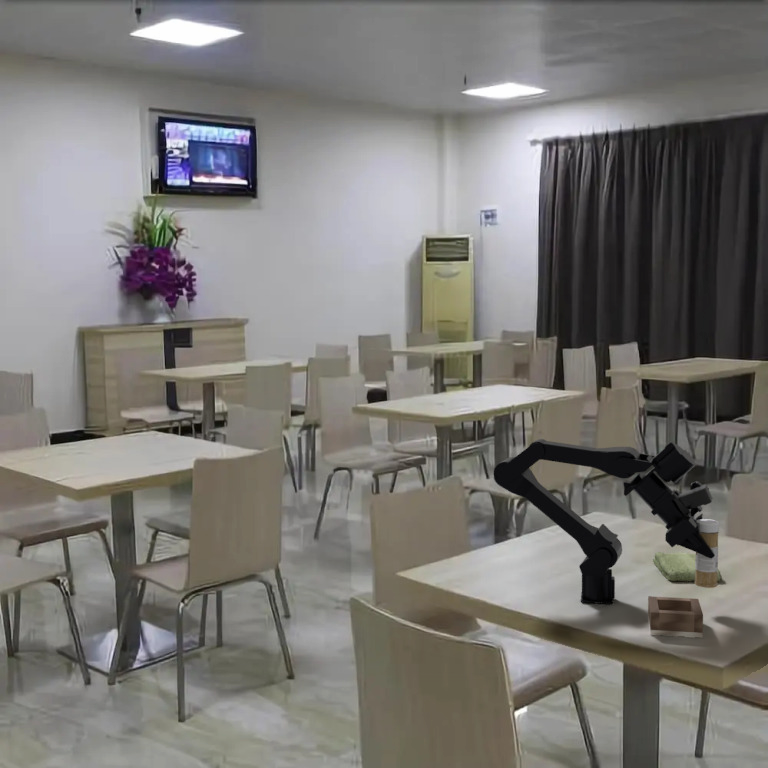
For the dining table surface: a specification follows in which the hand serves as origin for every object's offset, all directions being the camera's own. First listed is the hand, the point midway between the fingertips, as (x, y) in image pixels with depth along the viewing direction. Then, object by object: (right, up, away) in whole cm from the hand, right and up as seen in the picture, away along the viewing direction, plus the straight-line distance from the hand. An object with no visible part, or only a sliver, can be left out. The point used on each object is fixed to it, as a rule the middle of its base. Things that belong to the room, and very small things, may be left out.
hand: (713, 554), depth 200 cm
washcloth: (+3, -10, +29) cm, 31 cm away
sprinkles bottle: (-1, -7, +1) cm, 7 cm away
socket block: (-10, -13, -7) cm, 18 cm away
